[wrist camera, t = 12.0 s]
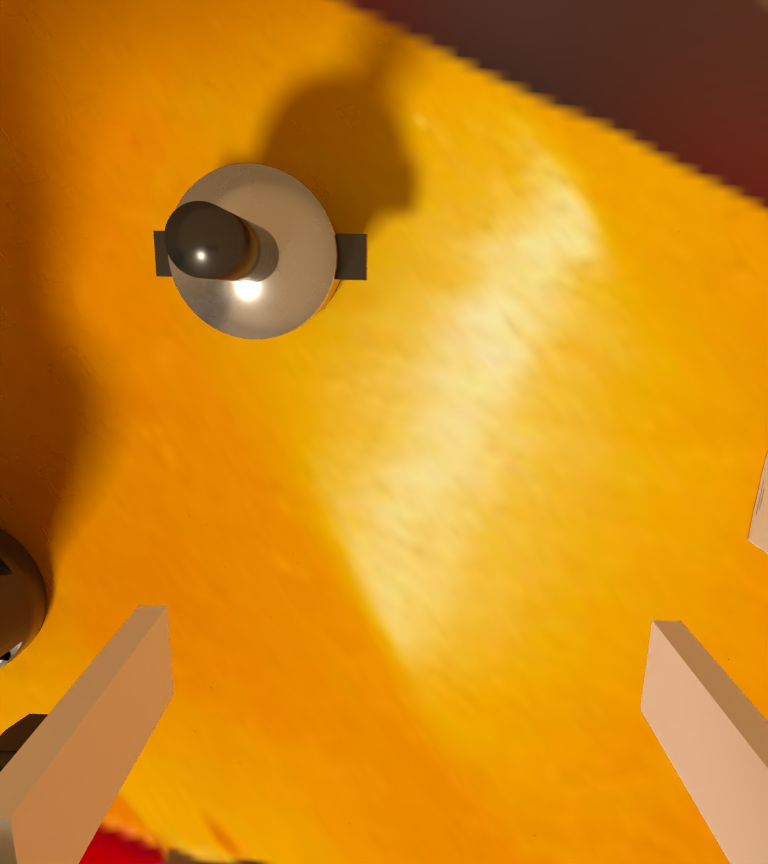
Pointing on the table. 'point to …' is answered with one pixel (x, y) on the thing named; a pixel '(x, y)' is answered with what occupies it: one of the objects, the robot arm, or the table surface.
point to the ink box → (761, 513)
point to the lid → (251, 251)
